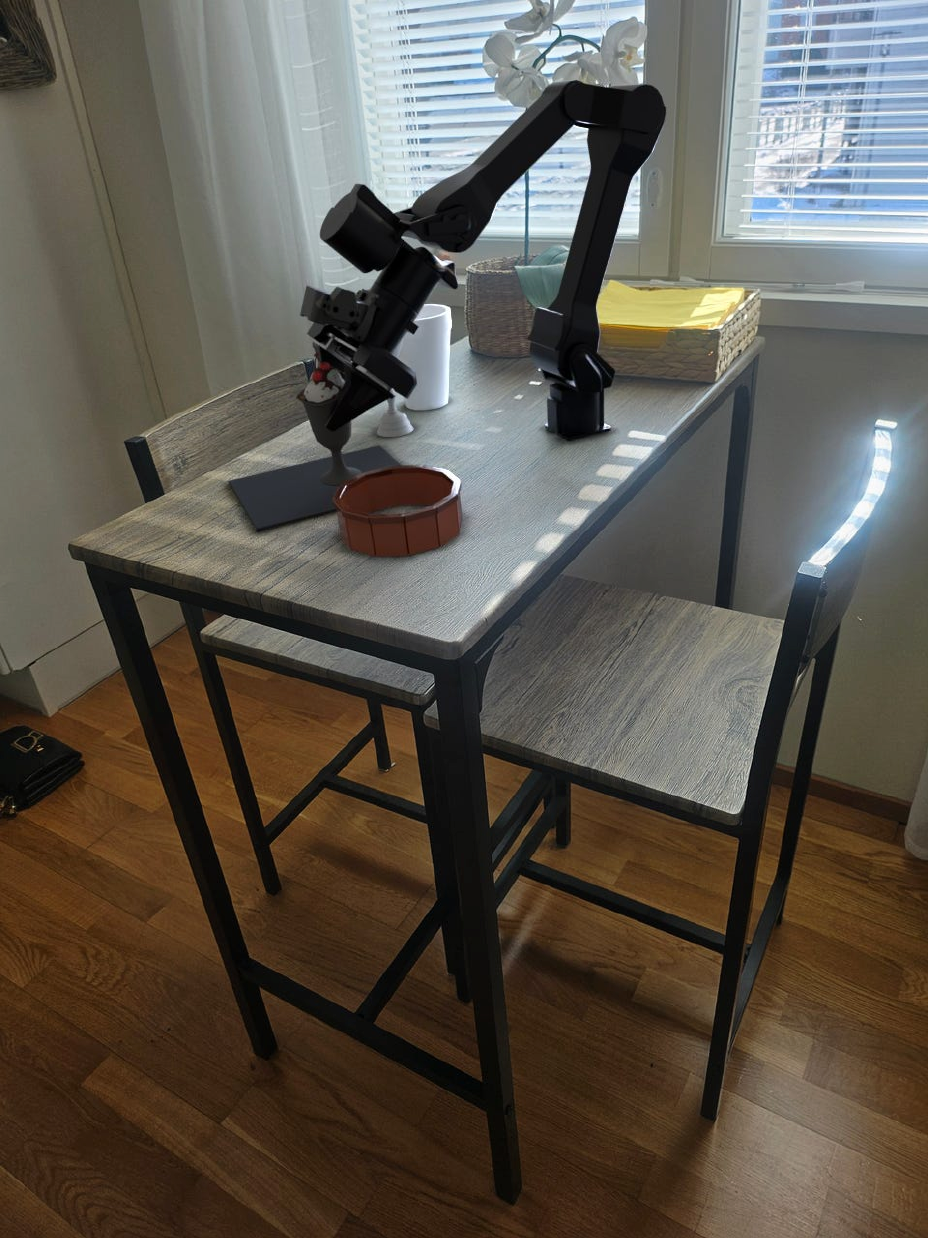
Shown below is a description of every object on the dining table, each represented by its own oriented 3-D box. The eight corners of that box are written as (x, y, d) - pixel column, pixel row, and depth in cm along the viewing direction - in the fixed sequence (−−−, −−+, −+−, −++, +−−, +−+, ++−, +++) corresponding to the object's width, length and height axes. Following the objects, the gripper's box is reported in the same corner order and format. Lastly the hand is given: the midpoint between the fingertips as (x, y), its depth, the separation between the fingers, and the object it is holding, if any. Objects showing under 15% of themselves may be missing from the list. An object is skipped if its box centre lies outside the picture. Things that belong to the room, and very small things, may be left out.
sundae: (330, 494, 98) (304, 360, 90) (302, 478, 103) (276, 349, 95) (380, 476, 101) (360, 345, 93) (351, 461, 106) (329, 335, 98)
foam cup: (457, 411, 125) (449, 317, 118) (393, 416, 126) (380, 323, 119) (458, 390, 133) (450, 301, 126) (398, 395, 134) (386, 307, 127)
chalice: (412, 439, 117) (395, 299, 107) (363, 440, 118) (342, 301, 109) (425, 420, 123) (410, 286, 113) (378, 421, 124) (360, 288, 115)
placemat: (379, 447, 115) (379, 445, 115) (425, 489, 103) (424, 485, 102) (228, 483, 109) (228, 480, 109) (257, 532, 97) (256, 528, 96)
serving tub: (435, 492, 102) (431, 455, 99) (483, 535, 91) (480, 496, 89) (326, 520, 98) (319, 483, 95) (363, 569, 87) (357, 528, 85)
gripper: (308, 243, 98) (235, 363, 100) (371, 264, 83) (284, 404, 86) (383, 302, 105) (313, 413, 107) (453, 331, 90) (371, 459, 92)
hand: (318, 421), depth 98 cm, fingers closed on sundae, 6 cm apart
